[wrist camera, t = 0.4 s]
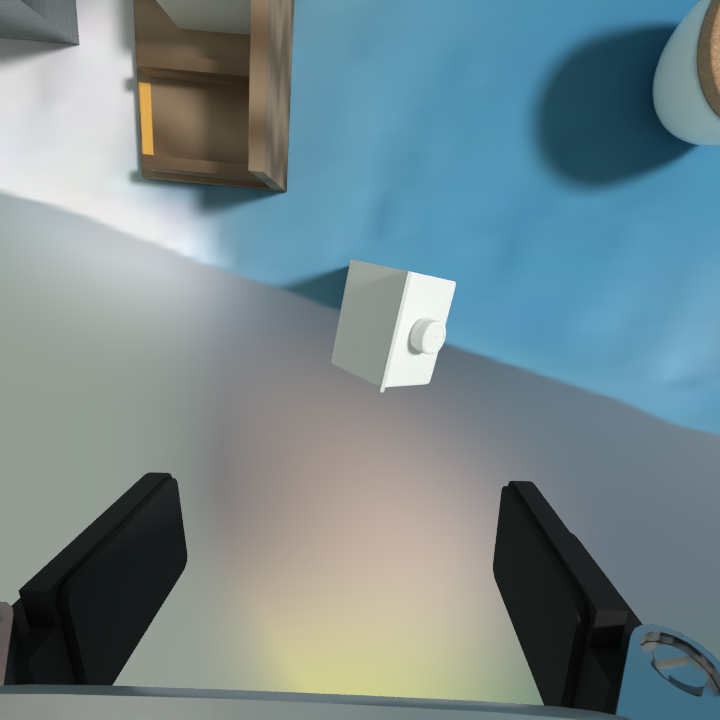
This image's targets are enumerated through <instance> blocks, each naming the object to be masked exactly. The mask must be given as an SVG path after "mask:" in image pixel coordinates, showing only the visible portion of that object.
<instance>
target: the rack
mask: <svg viewBox="0 0 720 720" xmlns="http://www.w3.org/2000/svg"><path fill="white" fill-rule="evenodd" d="M293 16H294V0H134V20H135V40H136V63H137V79H138V99H139V119H140V138H141V161H142V177H145V178H148V179H155V180H165V181H176V182H187V183H197V184H208V185H218V186H229V187H239V188H250V189H260V190H271V191H281V192H286V191H287V166H288V141H289V116H290V91H291V66H292V41H293Z"/></svg>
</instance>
